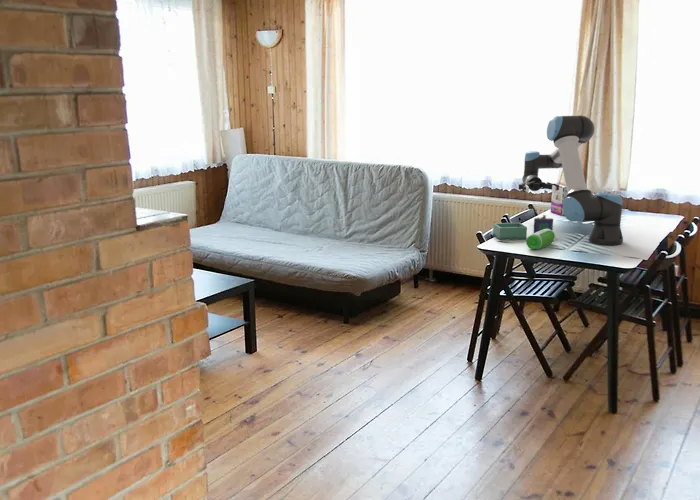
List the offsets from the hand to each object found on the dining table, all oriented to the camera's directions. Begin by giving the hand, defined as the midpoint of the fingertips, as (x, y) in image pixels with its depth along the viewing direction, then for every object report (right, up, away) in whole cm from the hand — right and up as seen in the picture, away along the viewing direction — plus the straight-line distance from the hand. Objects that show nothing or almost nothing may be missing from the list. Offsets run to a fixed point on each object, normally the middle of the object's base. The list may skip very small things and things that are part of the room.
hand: (541, 189), depth 329 cm
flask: (-1, -24, -4) cm, 24 cm away
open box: (-18, -24, -6) cm, 30 cm away
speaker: (-8, -29, -24) cm, 38 cm away
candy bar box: (+25, -10, +50) cm, 56 cm away
